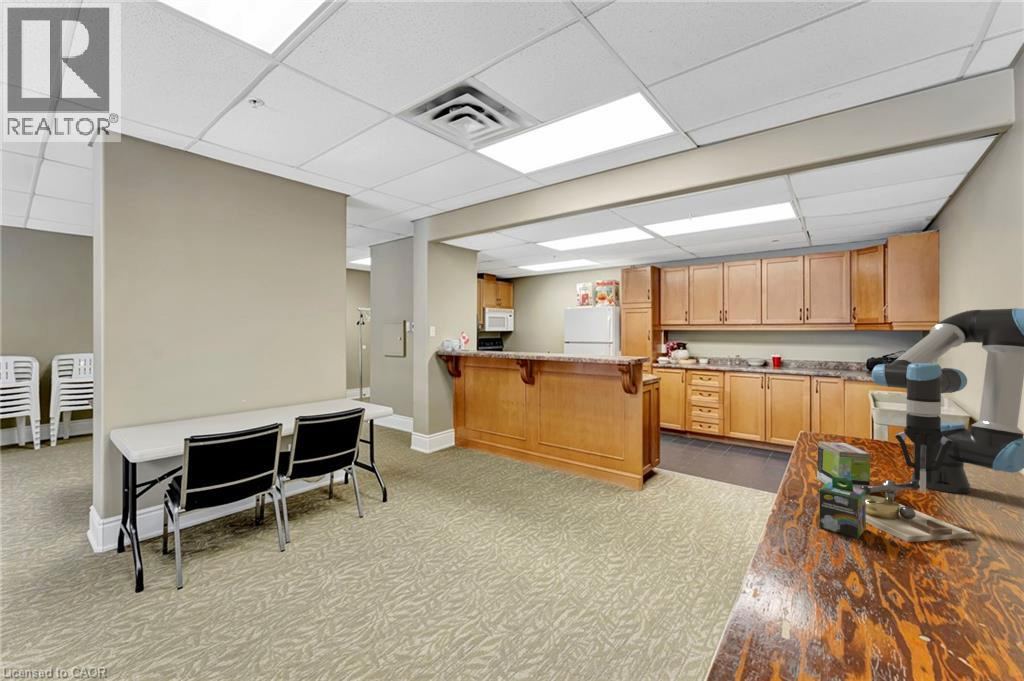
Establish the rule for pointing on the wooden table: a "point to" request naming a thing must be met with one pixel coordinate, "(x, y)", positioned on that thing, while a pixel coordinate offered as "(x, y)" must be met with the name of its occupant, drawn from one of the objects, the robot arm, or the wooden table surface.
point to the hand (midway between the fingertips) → (922, 490)
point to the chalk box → (842, 508)
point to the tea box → (843, 463)
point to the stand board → (918, 528)
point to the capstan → (886, 499)
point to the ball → (907, 512)
